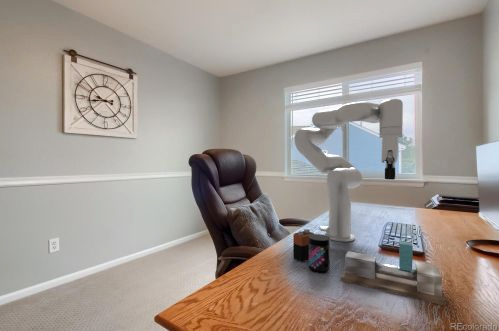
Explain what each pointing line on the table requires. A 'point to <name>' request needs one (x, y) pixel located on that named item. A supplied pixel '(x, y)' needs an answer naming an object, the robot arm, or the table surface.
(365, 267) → the tube rig
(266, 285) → the table surface
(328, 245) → the supplement container
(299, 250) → the battery
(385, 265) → the l-shaped stand
